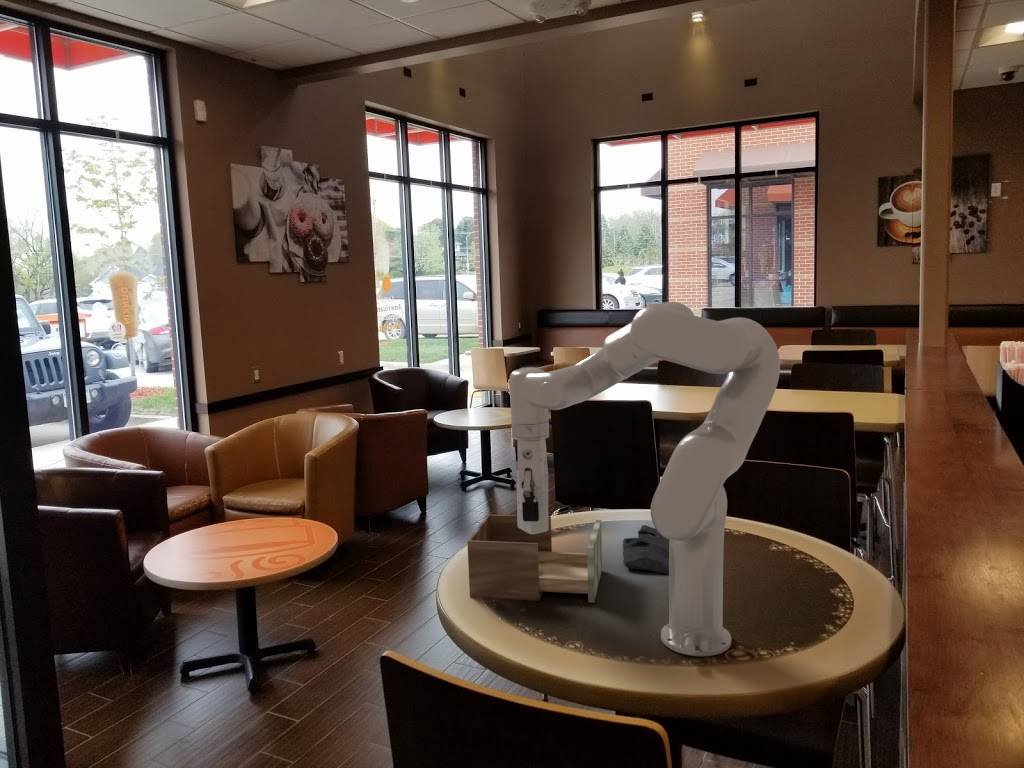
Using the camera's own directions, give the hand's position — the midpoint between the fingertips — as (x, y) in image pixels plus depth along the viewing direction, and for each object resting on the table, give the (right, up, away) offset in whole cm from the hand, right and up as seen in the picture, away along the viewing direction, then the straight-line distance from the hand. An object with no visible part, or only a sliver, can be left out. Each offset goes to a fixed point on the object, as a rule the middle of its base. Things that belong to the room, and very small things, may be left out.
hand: (533, 514), depth 156 cm
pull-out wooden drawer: (+7, -17, +11) cm, 21 cm away
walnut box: (-4, -17, +13) cm, 22 cm away
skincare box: (0, -3, 0) cm, 3 cm away
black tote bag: (+29, -15, +26) cm, 42 cm away
